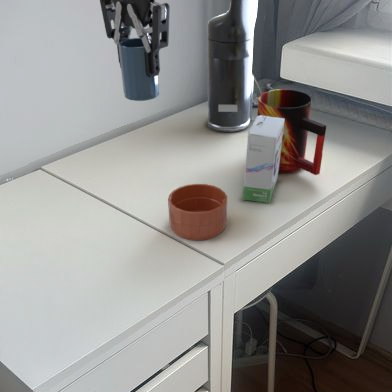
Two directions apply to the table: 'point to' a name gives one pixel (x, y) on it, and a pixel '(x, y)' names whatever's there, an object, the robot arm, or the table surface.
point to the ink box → (263, 158)
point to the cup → (136, 71)
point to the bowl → (197, 211)
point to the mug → (294, 128)
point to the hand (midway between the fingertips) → (139, 71)
